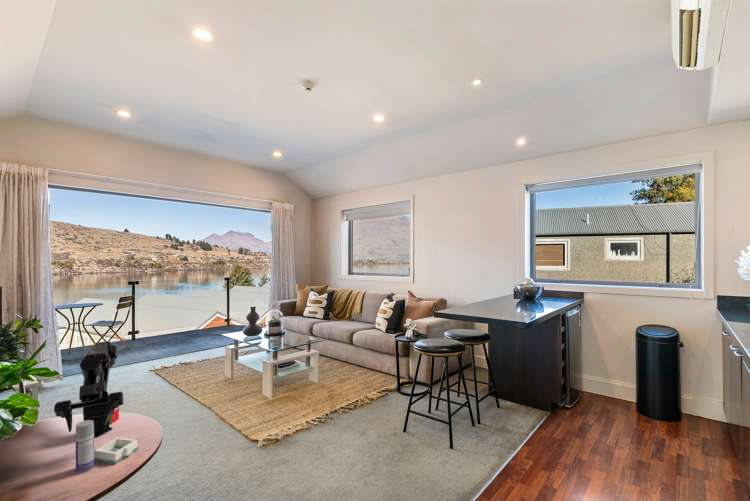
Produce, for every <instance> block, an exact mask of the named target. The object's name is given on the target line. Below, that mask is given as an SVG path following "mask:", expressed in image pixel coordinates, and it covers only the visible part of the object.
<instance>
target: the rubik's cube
mask: <svg viewBox="0 0 750 501" xmlns="http://www.w3.org/2000/svg"><path fill="white" fill-rule="evenodd" d="M119 407H120V406H119ZM119 407H118V408H115V410H114V414H112V415H111V416H110V417H109V424H111V425H113V424H114V423H116V422H117V421H118V420H119V419H120V408H119ZM112 423H113V424H112Z"/></svg>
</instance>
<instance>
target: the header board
mask: <svg viewBox="0 0 750 501" xmlns="http://www.w3.org/2000/svg"><path fill="white" fill-rule="evenodd" d="M137 451H139V446H138V440H137V439H132V438H131V439H130V438H124V437H115V438H114V439H112V440H111V441H108V442H107V443H105V444H103V445H102V446H100V447H98V448H97V449H94V463H95V462H97V463H103V464H108V465H109V464H111V465H117V464H118V463H120V462H122V461H123V460H125V459H126V458H127V457H129V456H131V455H132V454H134V453H136V452H137Z"/></svg>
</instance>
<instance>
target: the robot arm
mask: <svg viewBox="0 0 750 501" xmlns="http://www.w3.org/2000/svg"><path fill="white" fill-rule="evenodd" d="M111 342H112V341H98V342H96V343H95V347H94V348H93V349H92V352H89V353H87V354H85V357H83V358H82V360H81V361H80V364H79V367H80V371H81V375H82V376H83V384H82V385H81V386H79V395H78V399H79V401H80V402H79V401H78V402H73V403H72V401H71V399H67V400H62V401H57V402H56V403H55V404H54V406H53V411H54V413H55V416H56V417H60V419H65V420H66V425H67V429H68V432H69V433H71V432H72V429H73V410H77V409H81V408H82V415H83V416H82V417H83V421H86V420H93V421H94V438H95V437H96V438H99V437H100V436H102V435H103V434H105V433H107V432H109V431H111V430H113V427H110V425H109V417H110V416H111V415H112V414H114V410H115V408H118V407H120V406H122V405H124V398H125V397H124V392H122V391H115V392H110V393H109V391H107V390H108V384H109V378H110V377H109V376H110V369H111V368H112V367H113V366H114V365H115V364H116V360H117V359H118V347H117V346H116V345H114V344H112V343H111Z"/></svg>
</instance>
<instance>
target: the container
mask: <svg viewBox="0 0 750 501" xmlns="http://www.w3.org/2000/svg"><path fill="white" fill-rule="evenodd" d="M94 451H95V437H94V421H93V420H86V421H84V420H83V421H80V422H78V423H77V424H76V425H75V473H76V474H84V473H87V472H89V471H91V470H93V469H94V467H95V461H94Z"/></svg>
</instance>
